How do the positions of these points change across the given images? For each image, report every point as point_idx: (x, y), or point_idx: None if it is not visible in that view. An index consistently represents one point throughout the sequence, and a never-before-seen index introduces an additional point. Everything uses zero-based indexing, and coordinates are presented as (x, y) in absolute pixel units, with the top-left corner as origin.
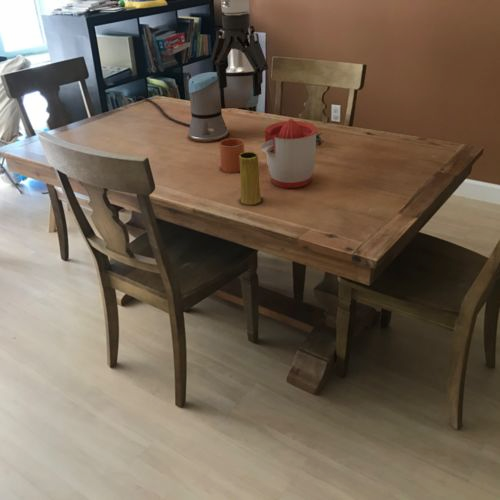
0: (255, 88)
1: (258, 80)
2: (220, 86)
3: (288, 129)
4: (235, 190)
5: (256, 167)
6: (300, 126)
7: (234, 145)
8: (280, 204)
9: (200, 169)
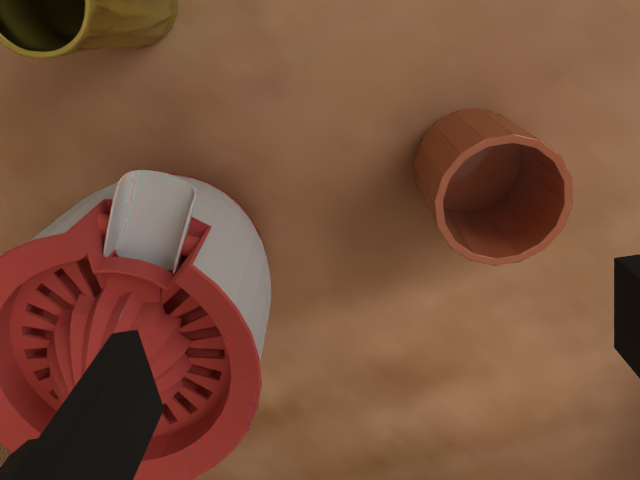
0: (80, 385)
1: (12, 473)
2: (632, 268)
3: (70, 348)
4: (265, 15)
5: (18, 15)
6: (165, 452)
7: (523, 231)
8: (27, 73)
9: (584, 37)
